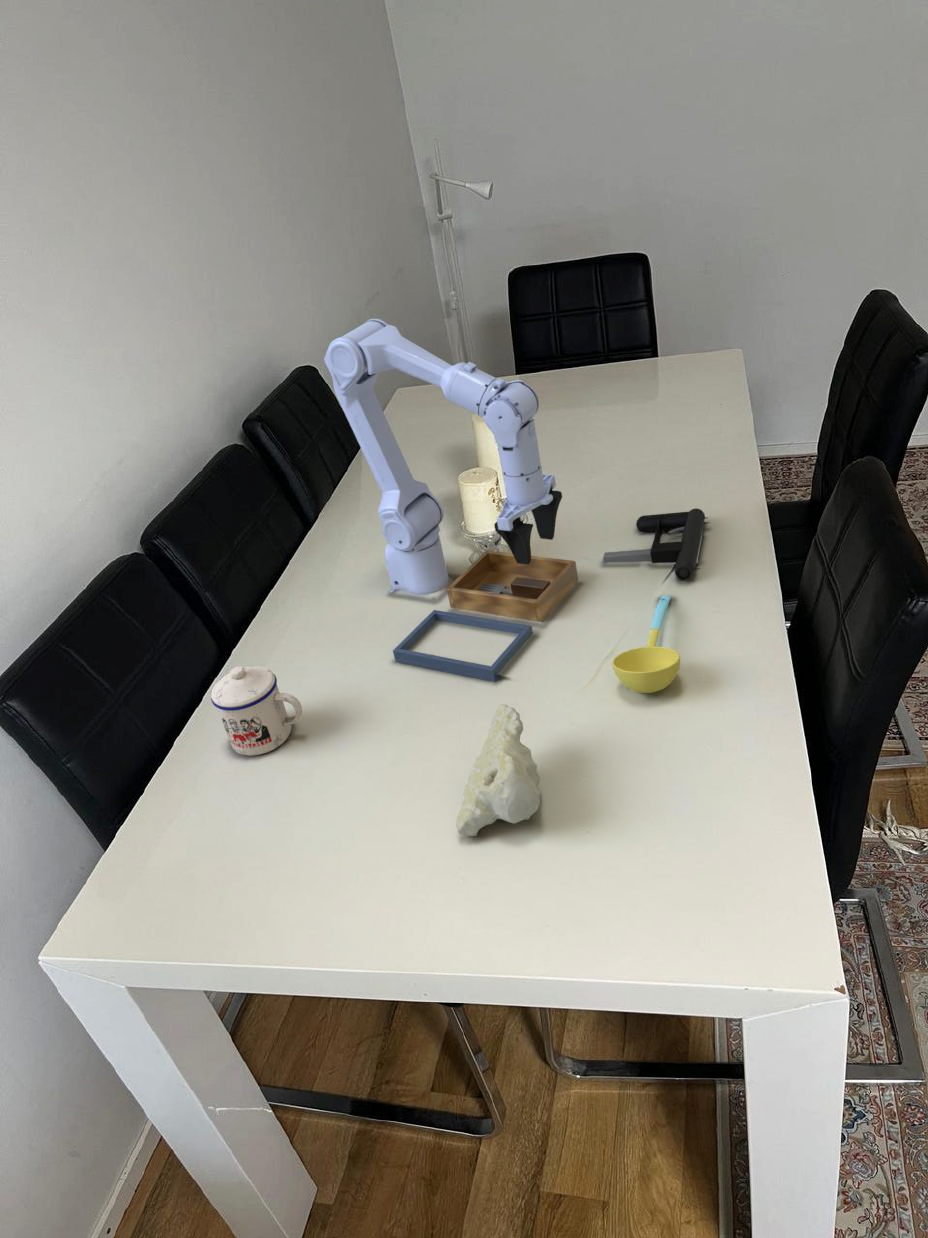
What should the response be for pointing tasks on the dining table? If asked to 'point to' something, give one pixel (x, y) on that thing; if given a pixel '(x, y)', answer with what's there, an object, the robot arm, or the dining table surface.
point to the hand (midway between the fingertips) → (535, 550)
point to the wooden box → (502, 572)
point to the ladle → (649, 660)
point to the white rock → (500, 778)
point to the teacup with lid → (254, 709)
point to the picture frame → (460, 666)
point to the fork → (519, 588)
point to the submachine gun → (668, 552)
